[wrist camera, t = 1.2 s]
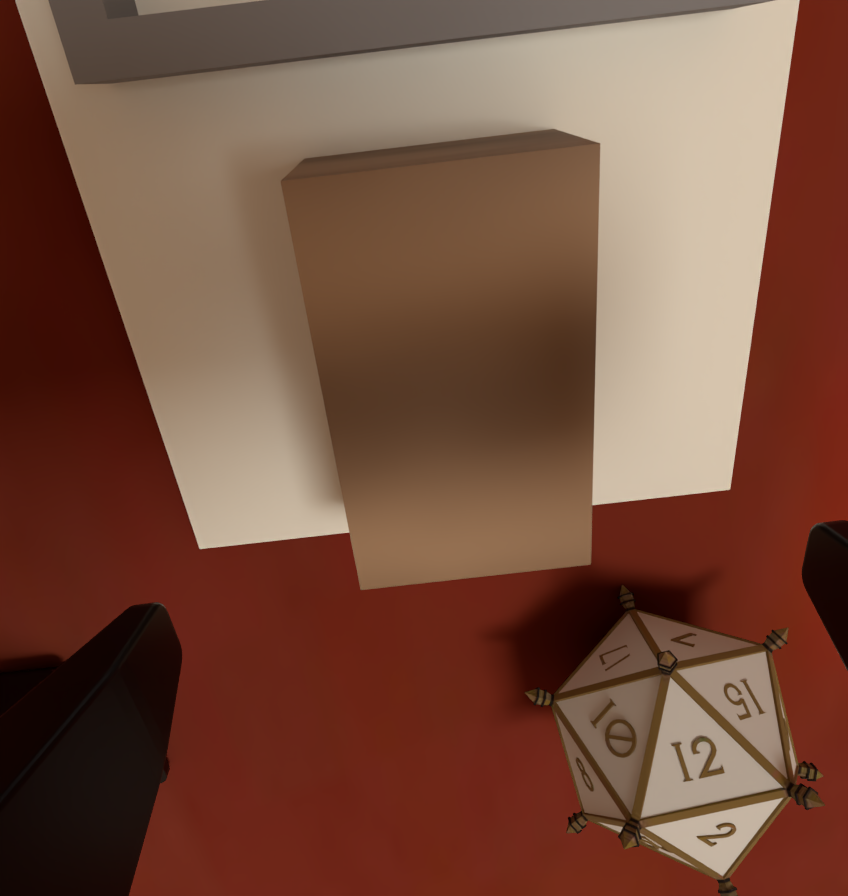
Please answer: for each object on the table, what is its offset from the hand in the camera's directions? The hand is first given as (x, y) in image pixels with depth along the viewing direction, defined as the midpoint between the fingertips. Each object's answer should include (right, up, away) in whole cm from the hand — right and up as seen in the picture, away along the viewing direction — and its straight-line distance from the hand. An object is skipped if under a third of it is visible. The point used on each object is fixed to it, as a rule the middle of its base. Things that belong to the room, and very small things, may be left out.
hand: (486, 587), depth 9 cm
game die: (+7, -5, +16) cm, 18 cm away
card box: (0, +5, +9) cm, 10 cm away
